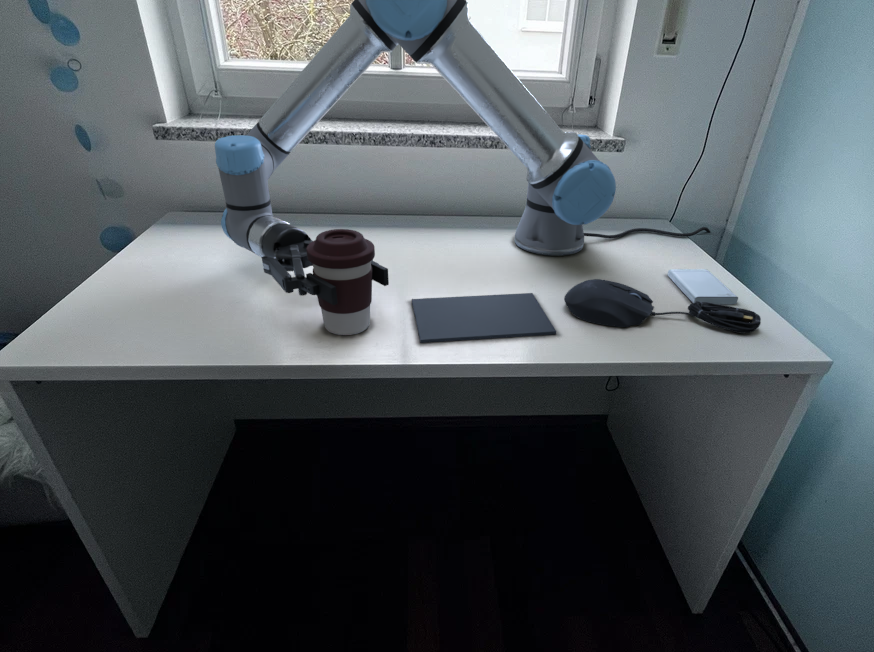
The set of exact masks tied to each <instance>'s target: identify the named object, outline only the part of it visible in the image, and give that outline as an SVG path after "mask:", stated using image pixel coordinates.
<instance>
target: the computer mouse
mask: <svg viewBox="0 0 874 652" xmlns="http://www.w3.org/2000/svg"><path fill="white" fill-rule="evenodd" d="M563 299H564V303H565V305H566V308H567V309H568V311H569V312H570V313H571V314H572V315H573V316H574V317H575V318H578V319H580V320H582V321H585V322H588V323H591V324H596V325H603V326H609V327H617V328H628V327H631V326H640V325H642V323H643V322H645V321H646V319H648V318H649V317H650V316H651V317H655V316H665V315H687V316H692V317H693V318H696V319H699V320H701V321H702V322H705V323H708V324H710V325H712V326H715V327H717V328H720V329H724V330H728V331H731V332H733V333H737V334H750V333H752V332H755V331H756V330H758V329H759V327H760V326H761V323H762V322H761V321H762V319H761V316H760V315H759V314H758V313H757V312H755V311H752V310H749V309H745V308H742V307H741V308H740V307H734V306H729V305H727V304H714V303H709V302H699V301H696V302H695V303H693V302H692V303H690V304H689V305H688V306H687V311H688V312H686V311H665V312H663V311H662V312H655V311H654V308H655V306H653V303H654V301H653V300H652V298H651V297H650V296H649V294H647V293H645V292H643V291H641V290H638V289H637V288H634V287H632V286H629V285H626V284H624V283H621V282H616V281H612V280H607V279H600V278H592V279H587V280H584V281H581V282H579V283H577V284H575V285H574V286H572V287H571V288H570V289H569V290H568V291H567V292H566V293H565V294H564V297H563Z"/></svg>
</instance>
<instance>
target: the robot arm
mask: <svg viewBox="0 0 874 652" xmlns="http://www.w3.org/2000/svg"><path fill="white" fill-rule="evenodd" d="M349 6H350V7H349V16H348V17H347V18H346V19H345V20H344V21H343V23H342V24H341V25H340V26H339V27H338V28H337V30H336V31H335V32H334V33H333V34H332V36H331V37H329V39H328V40H327V41H326V42H325V44H324V45H323V46H322V47H321V48H320V49H319V51H318V52H317V53H316V54H315V55H314V56H313V58H312V59H311V60H310V61H309V62H308V63H307V65H305V66H304V68H303V69H302V70H301V71H300V73H299V74H298V75H297V76H296V77H295V78H294V79H293V80H292V82H291V83H290V84H289V85H288V87H287V88H286V89H285V90H284V91H283V93H281V95H280V96H279V97H278V98H277V99H276V100H275V101H274V102H273V104H272V105H271V106H270V107H269V108H268V110H267V111H266V112H265V113H264V114H263V115H262V117H261V118H260V119H259V120H258V121H257V122H256V123H255V124H254V125H253V126H252V128H251V129H250V130H249V131H248V133H246V135H243V134H241V135H240V134H237V135H227V136H224V137H219V138H218V139H217V140H216V141H215V142H214V149H215V150H214V151H215V163H216V166H217V169H218V173H219V177H220V182H221V187H222V192H223V195H224V196H223V197H224V201H225V209H224V211H223V212H222V215H221V220H220V225H221V226H220V227H221V229H222V231H223V233H224V235H225V236H226V237H227V238H228V239H230V240H231V241H232V242H233V243H234V244H236V246H239V247H241V248H242V249H245V250H248V251H249V252H250V253H251V252H252V254H254V255H256V256H258V257H260V258H261V262H262V268H263V273H265V274H267V275H270V276H271V277H272V278H273V279H274V280H275V282H276V283H277V284H278V285H279V286H280V288H281V289H282V290H283V291H284V292H285V293H286V294H292V293H294V290H298V295H299V296H300V297H301V296H306V295H308V294H309V295H311V296H316V297H317V296H318V297H320V298H322V299H323V300H325V301H327V302H328V303H330V304H332V305H336V304H338V303H337V293H336V287H335V286H333V285H332V284H330V283H328V282H326V281H324V280H323V279H321V278H318V277H317V276H315V275H314V274H313V272H308V273H305V270H304V269H307V268H309V267H313V264H312V263H311V262H310V261H309V260H308V258H307V250H306V248H307V246H308V245H309V244H310V243H311V242H313V241H314V240H312V238H311V237H310V236H309V235H308V233H306V232H305V231H304V230H303V229H301V228H299V227H297V226H295V225H293V224H291V223H289V222H287V221H286V220H283V219H280V218H278V217H277V216H274V215H273V208H272V202H271V197H270V190H269V182H268V180H269V179H270V177H271V176H272V175H273V173H274V172H275V171H276V170H277V169H278V167H280V166H281V164H282V163H283V162H284V161H285V160H286V159H287V157H288V156H289V155H290V153H292V151H293V150H294V149H295V148H296V147H297V146H298V145H299V144H300V143H301V142H302V140H303V139H304V138H305V137H306V136H308V134H309V133H310V132H311V131H312V130H313V128H314V127H316V125H317V124H318V123H319V122H320V121H321V120H322V119H323V118H324V117H325V115H326V114H327V113H328V112H329V111H330V110H331V109H332V108H333V107H334V106H335V105H336V104H337V103H338V101H339V100H340V99H341V98H342V97H343V96H344V95H345V94H346V93H347V92H348V91H349V89H350V88H352V86H353V85H354V84H355V83H356V82H357V81H358V80H359V79H360V77H361V76H362V75H363V74H364V73H365V72H366V71H367V70H368V69H369V67H371V65H372V64H373V63H374V62H375V61H376V60H377V59H378V58H379V57H380V56H381V55H382V54H383V53H392V52H393V51H394V50H395V49H396V47H398V46H400V47H401V49H403V51H405V52H406V54H407V55H408V56H409V57H410V58H411V59H412V60H413V61H414V63H416V64H418V65H431V66H432V67H433V68H434V69H435V71H437V72H438V73H439V75H440V76H441V77H442V78H443V79H444V80H445V81H446V82H447V84H448V85H449V86H451V88H452V89H453V90H454V91H455V92H456V94H458V95H459V96H460V97H461V99H462V100H463V101H464V102H465V103H466V104H467V105H468V106H469V107H470V108H471V109H472V111H474V113H475V114H476V115H477V116H478V117H479V118H480V120H482V122H484V123H485V125H486V126H487V127H488V128H489V129H490V130H491V131H492V132H493V133H494V134H495V135H496V137H498V138H499V140H500V141H501V142H502V143H503V144H504V145H505V146H506V147H507V148H508V150H509V151H511V153H512V154H513V155H514V156H515V157H516V158H517V159H518V160H519V161H520V163H522V165H523V166H524V167H525V168H526V181H527V190H526V191H527V193H526V202H525V208H524V211H523V213H522V215H521V217H520V220H519V223H518V224H517V226H516V229H515V233H514V243H515V245H516V246H517V247H518V248H520V249H522V250H525V251H526V252H529V253H532V254H537V255H542V256H551V257H557V256H558V257H560V256H568V255H573V254H576V253H579V252H581V251H582V249H583V248H584V244H585V237H591V238H592V237H593V238H601V239H602V238H603V239H617V238H621V237H624V236H626V235H628V234H631V233H636V232H649V233H655V234H656V233H657V234H662V235H666V236H673V237H692V236H695V235H698V234H699V233H700V232H703V231H705V232H706V233H708V234H711V233H712V232H711V230H710V229H709V228H708V227H706V226H702V227H699V228H698V229H696V230H694V231H692V232H686V233H682V232H681V233H680V232H673V231H667V230H663V229H656V228H650V227H649V228H647V227H637V228H631V229H628V230H625V231H623V232H621V233H616V234H602V233H593V232H584V228H583V225H588V224H591V223H593V222H595V221H597V220H598V219H600V218H601V217H602V216H604V214H605V213H606V212H607V211H608V210H609V209H610V207H611V205H612V204H613V202H614V198H615V195H616V190H617V183H616V179H615V176H614V174H613V172H612V170H611V168H610V167H609V166H608V165H607V164H606V163H604V162H603V161H600V159H599V158H598V157H597V156H596V155H595V154H594V152H593V151H592V150H591V148H592V146H591V137H590V136H589V135H587V134H580V133H579V134H578V133H577V132H575V131H563V130H562V129H561V127H560V126H559V125H558V124H557V122H555V120H554V119H553V118H552V117H551V116H550V114H549V113H548V112H547V110H546V109H544V107H543V106H542V105H541V103H540V102H538V100H537V99H536V98H535V96H534V95H533V94H532V93H531V92H530V91H529V90H528V88H527V87H526V86H525V85H524V84H523V83H522V81H521V80H520V79H519V78H518V77H517V75H516V74H515V73H514V72H513V71H512V69H511V68H510V67H509V66H508V64H507V63H506V62H505V61H504V60H503V59H502V58H501V56H499V54H498V52H496V50H495V49H494V47H492V46H491V45H490V43H489V42H488V41H487V40H486V39H485V37H484V36H483V35H482V34H481V33H480V31H479V30H478V29H477V28H476V26H474V24H473V23H472V22H471V21H470V19H469V2H468V1H467V0H353V1H352V2H351V3H350V5H349ZM371 266H372V281H374V282H376V283H377V284H379V285H381V286H384V287H387V286H389V283H390V282H389V281H390V280H389V268H387V267H385V266H383V265H381V264H379V262H377V261H375V260H374V259H373V260H372V261H371ZM290 272H293V274H294V276H293V277H292V274H290Z"/></svg>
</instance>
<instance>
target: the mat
mask: <svg viewBox="0 0 874 652" xmlns="http://www.w3.org/2000/svg"><path fill="white" fill-rule="evenodd" d="M411 305H412V310H413V315H414V320H415V325H416V330H417V334H418V339H419V343H420V344H428V343H429V344H430V343H443V342H444V343H445V342H459V341H474V340H490V339H491V340H492V339H506V338H521V337H523V338H524V337H539V336H552V335H553V336H554V335H557V330H556V328H555V327H554V324H553V323H552V322H551V320H550V319H549V317H548V316H547V314H546V312H545V311H544V309H543V307H542V306H541V304H540V302H539V301H538V299H537V298H536V296H535V295H534V293H533V292H526V293H525V292H524V293H523V292H522V293H506V294H505V293H504V294H503V293H502V294H486V295H485V294H484V295H464V296H445V297H428V298H427V297H426V298H425V297H424V298H423V297H422V298H412V299H411Z"/></svg>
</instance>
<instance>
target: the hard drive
mask: <svg viewBox="0 0 874 652" xmlns="http://www.w3.org/2000/svg"><path fill="white" fill-rule="evenodd" d="M667 277H669V279H670V280H671V281H672V282H673V284H675V285H676V287H678V288H679V289H680V291H681V292H682V293H683V294H684V295H685V296H686V297H687V298H688V299H689V300H690V301H691V302H692V303H695V302H696V301H699V302H709V303H714V304H720V305H736V304H737V303H738V301H739V296H738V295H736V294H735V293H734V292H733V291H732V290H731V289H730V288H729V287H727V286H726V285H725V284H724V283H723V282H722V281H721V280H720V279H719V278H718V277H717V276H716V275H714V274H713V273H712V272H711V271H710V270H708V269H707V268H672V269H668V271H667Z"/></svg>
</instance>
